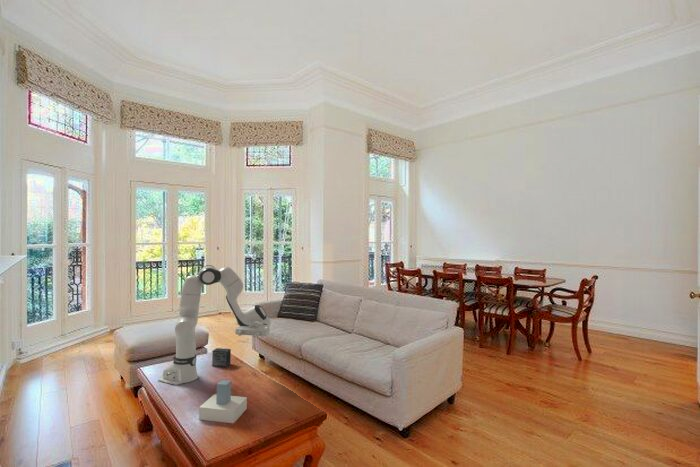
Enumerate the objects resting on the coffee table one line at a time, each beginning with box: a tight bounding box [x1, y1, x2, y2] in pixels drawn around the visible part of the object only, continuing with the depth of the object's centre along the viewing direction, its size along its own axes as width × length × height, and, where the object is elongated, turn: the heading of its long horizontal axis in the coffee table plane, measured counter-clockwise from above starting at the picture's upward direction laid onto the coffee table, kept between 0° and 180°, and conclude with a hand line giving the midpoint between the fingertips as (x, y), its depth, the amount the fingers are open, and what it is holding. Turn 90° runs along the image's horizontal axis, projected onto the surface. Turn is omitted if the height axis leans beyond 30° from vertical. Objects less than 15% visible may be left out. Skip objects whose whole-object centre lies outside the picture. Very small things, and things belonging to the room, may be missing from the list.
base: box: [198, 393, 248, 424], centre depth 176 cm, size 18×14×6 cm
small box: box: [211, 347, 232, 368], centre depth 240 cm, size 11×6×10 cm, turn 84°
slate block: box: [216, 379, 232, 405], centre depth 176 cm, size 5×5×10 cm
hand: (246, 334), depth 209 cm, fingers open, 8 cm apart
